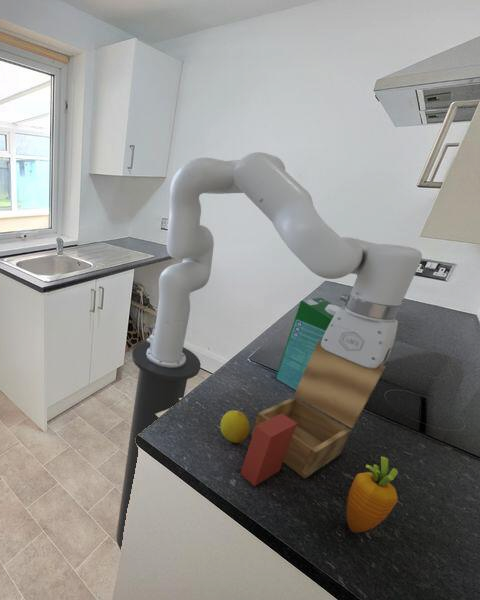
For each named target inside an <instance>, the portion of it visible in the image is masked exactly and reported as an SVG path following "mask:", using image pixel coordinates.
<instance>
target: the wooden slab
mask: <svg viewBox="0 0 480 600" xmlns="http://www.w3.org/2000/svg"><path fill="white" fill-rule="evenodd" d="M385 370H386V366H385V365H384V364H383V365H379V366H378V367H377V368H373V369H371V368H366V367H363V366H360V365H358V364H356V363H353V362H351V361H348V360H346V359H344V358H341V357H339V356H337V355H334V354H332V353H330V352H328V351H326V350H324V349H323V348H322V347H321V340H319V341H318V343H317V345H316V347H315V349H314V352H313V354H312V356H311V358H310V361H309V363H308V365H307V367H306V369H305V372H304V374H303V376H302V378H301V381H300V383H299V385H298V387H297V389H296V390H295V392H294V394H293V396H294V397H296V398H297V399H299V400H301V401H302V402H304V403H306V404H308V405H309V406H311V407H313V408H315V409H316V410H318V411H320V412H321V413H323V414H325V415H327V416H328V417H330V418H332V419H334V420H335V421H337V422H339V423H341V424H342V425H344V426H346V427H347V428H349V429H353V428H354V427H355V425H356V423H357V422H358V420H359V419H360V416H361V415H362V412H363V411H364V409H365V407H366V405H367V403H368V401H369V399H370V397H371V395H372V394H373V391H374V390H375V388H376V386H377V384H378V382H379V380H380V379H381V377H382V375H383V373H384V371H385Z"/></svg>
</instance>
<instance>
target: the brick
mask: <svg viewBox="0 0 480 600" xmlns="http://www.w3.org/2000/svg"><path fill="white" fill-rule="evenodd" d="M296 426H297V423H296V422H295V421H293V420H292V419H290V418H288V417H287V416H285V415H284V414H282V413H281V414H279V415H277V416H275V417H273V418H271V419H269V420H266V421H264V422H262V423H260V424H258V425H256V426H255V429H254V432H253V436H252V438H251V439H250V441H249V445H248V449H247V451H246V454H245V458H244V461H243V464H242V466H241V470H240V473H239V474H240V475H241V476H242V477H243V478H245V479H246V481H248V482H249V483H250V484H251V485H252V487H257V485H259V484H260V483H262V482H263V481H265V480H267V479H268V478H270V477H272V476H273V475H275V474H277V473H279V472H280V470H281V468H282V466H283V464H284V462H283V460H284V458H285V455H286V452H287V450H288V447H289V444H290V442H291V439H292V437H293V434H294V431H295V429H296Z"/></svg>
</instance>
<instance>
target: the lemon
mask: <svg viewBox="0 0 480 600" xmlns="http://www.w3.org/2000/svg"><path fill="white" fill-rule="evenodd" d="M219 425H220V427H219V429H220V431H221V432H220V433H221V434H222V436H223V437H224V438H225V439H226V440H227V441H229V442H230V443H234V444H238V443H241V442H243V441H245V440H246V439H247V437H248V436H249V434H250V422H249V419H248V417H247V416H246V415H245V414H244V412H241V411H239V410H228V411H227V412H226V413H225V414H223V416H222V418H221V419H220V424H219Z"/></svg>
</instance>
